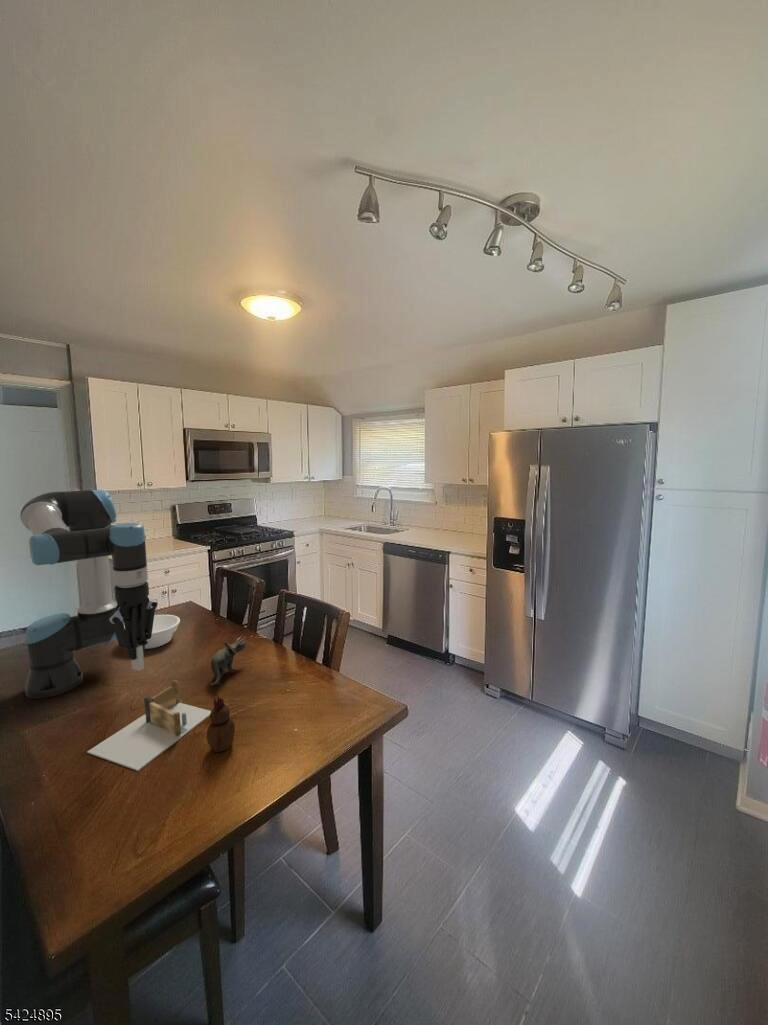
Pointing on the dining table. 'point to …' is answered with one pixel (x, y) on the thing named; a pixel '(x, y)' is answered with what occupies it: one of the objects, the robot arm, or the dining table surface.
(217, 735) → the wooden figurine
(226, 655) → the dinosaur figurine
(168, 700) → the fence fixed
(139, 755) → the card
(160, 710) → the fence panel
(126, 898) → the dining table surface
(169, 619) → the bowl
